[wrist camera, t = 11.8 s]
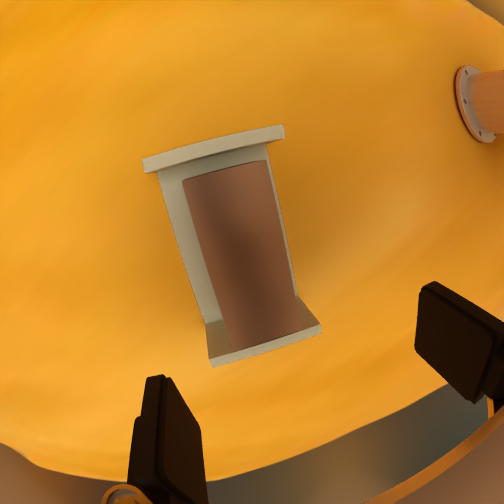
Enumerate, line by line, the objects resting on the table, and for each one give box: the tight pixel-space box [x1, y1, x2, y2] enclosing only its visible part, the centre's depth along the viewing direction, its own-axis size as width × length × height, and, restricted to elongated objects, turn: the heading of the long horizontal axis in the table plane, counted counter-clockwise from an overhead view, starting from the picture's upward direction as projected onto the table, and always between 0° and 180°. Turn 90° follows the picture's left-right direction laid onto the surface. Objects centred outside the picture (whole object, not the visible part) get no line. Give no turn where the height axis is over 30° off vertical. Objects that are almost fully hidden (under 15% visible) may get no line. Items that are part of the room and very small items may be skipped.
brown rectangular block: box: [182, 160, 301, 351], centre depth 22 cm, size 6×13×5 cm, turn 14°
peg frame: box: [142, 124, 322, 368], centre depth 24 cm, size 10×18×7 cm, turn 13°
